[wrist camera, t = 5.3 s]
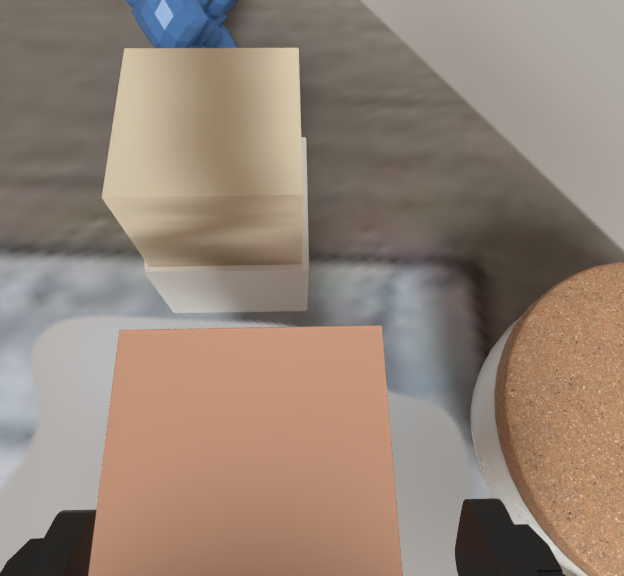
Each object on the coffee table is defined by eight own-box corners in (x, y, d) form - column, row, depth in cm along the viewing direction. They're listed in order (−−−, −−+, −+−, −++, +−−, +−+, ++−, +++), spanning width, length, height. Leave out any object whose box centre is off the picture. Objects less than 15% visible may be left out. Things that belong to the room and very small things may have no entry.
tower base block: (174, 313, 24) (143, 271, 19) (184, 199, 26) (159, 137, 21) (307, 311, 24) (309, 270, 19) (304, 198, 26) (306, 137, 22)
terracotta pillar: (218, 543, 20) (78, 647, 7) (223, 418, 22) (119, 330, 9) (339, 539, 20) (407, 635, 7) (334, 415, 22) (381, 325, 9)
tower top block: (149, 267, 19) (101, 197, 14) (162, 143, 21) (124, 48, 17) (301, 264, 19) (302, 194, 15) (298, 141, 21) (298, 47, 17)
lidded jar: (558, 639, 19) (777, 775, 10) (390, 408, 22) (447, 360, 13) (731, 473, 21) (1028, 468, 13) (557, 286, 24) (698, 178, 16)
